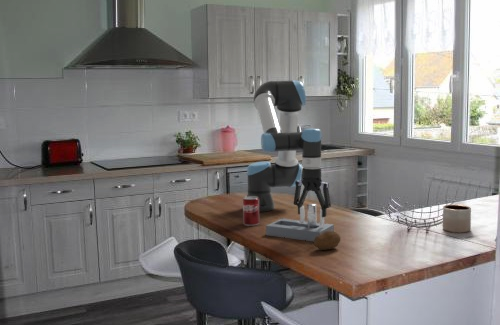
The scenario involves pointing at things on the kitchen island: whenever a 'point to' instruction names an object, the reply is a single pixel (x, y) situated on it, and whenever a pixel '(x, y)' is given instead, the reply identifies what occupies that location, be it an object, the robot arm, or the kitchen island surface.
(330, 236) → the potato
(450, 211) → the planter
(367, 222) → the kitchen island surface
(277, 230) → the keyhole board
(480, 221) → the kitchen island surface
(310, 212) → the peg
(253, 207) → the soda can
